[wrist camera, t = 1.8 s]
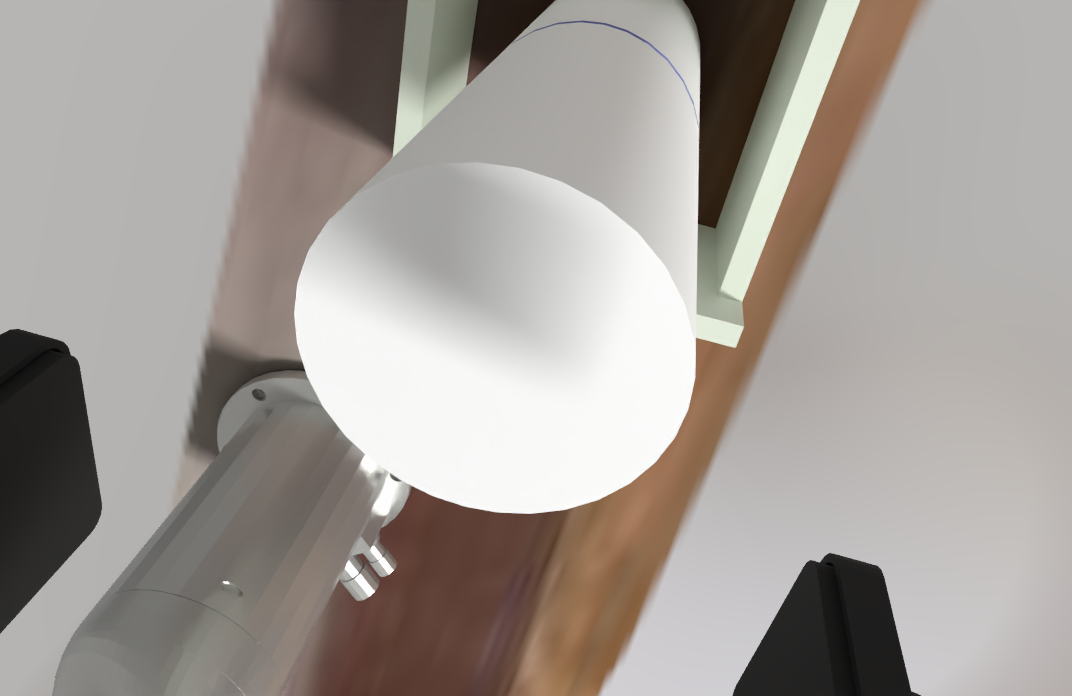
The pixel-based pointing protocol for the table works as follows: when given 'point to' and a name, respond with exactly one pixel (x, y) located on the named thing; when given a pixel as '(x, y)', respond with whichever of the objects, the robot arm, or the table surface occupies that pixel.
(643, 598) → the table surface
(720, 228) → the frame
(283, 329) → the table surface
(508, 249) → the cylindrical container
